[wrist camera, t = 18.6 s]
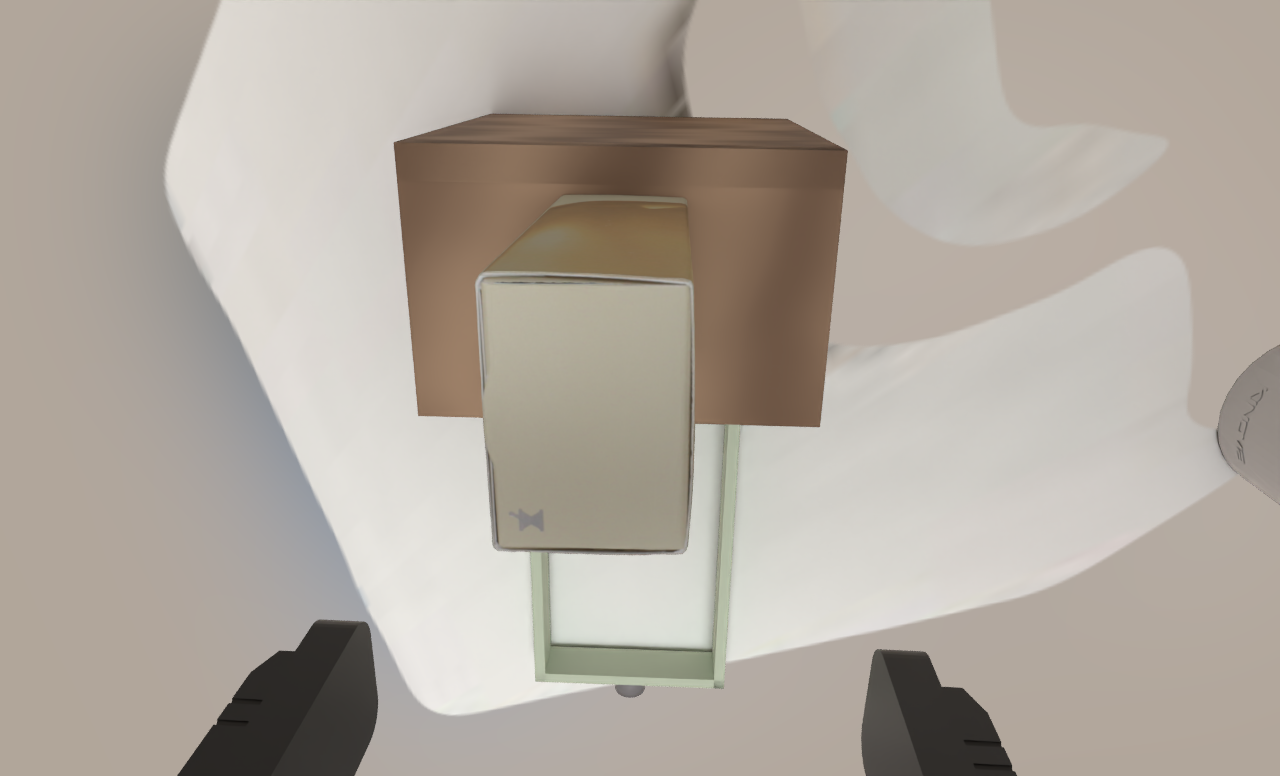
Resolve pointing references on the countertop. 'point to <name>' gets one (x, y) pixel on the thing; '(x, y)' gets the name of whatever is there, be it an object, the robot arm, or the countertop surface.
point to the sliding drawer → (632, 664)
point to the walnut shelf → (641, 166)
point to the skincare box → (591, 379)
